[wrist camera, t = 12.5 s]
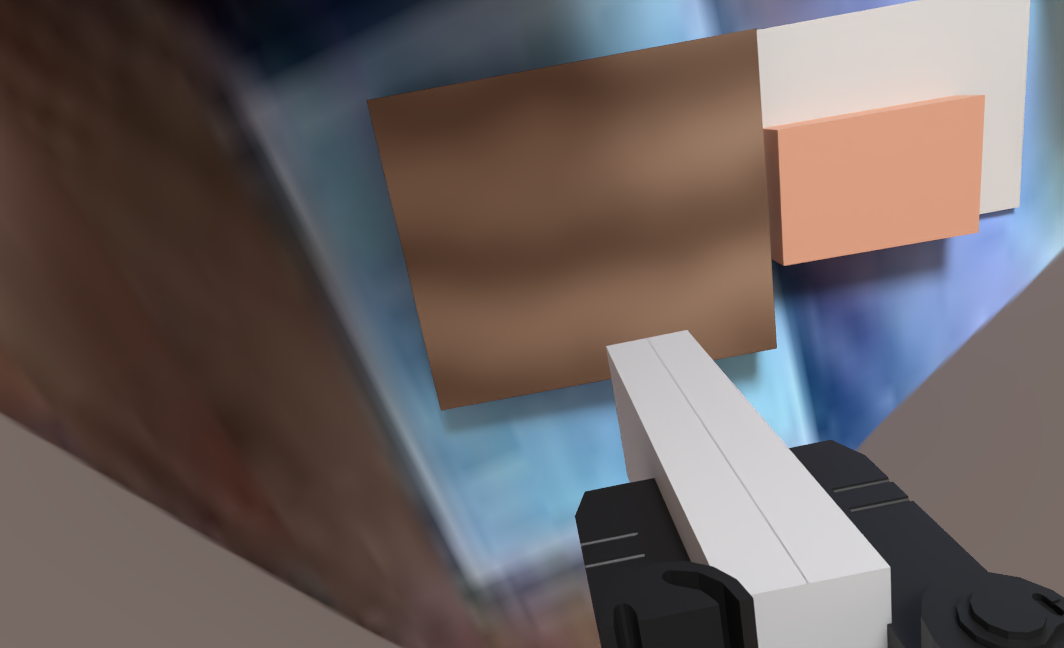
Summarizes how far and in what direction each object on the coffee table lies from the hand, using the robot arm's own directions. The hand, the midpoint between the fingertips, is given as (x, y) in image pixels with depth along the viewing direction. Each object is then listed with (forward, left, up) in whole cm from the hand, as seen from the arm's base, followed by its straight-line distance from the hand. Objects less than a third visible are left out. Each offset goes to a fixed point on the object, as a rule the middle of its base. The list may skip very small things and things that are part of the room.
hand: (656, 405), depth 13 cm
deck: (0, +1, -20) cm, 20 cm away
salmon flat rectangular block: (0, +14, -20) cm, 25 cm away
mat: (-2, +16, -20) cm, 26 cm away
